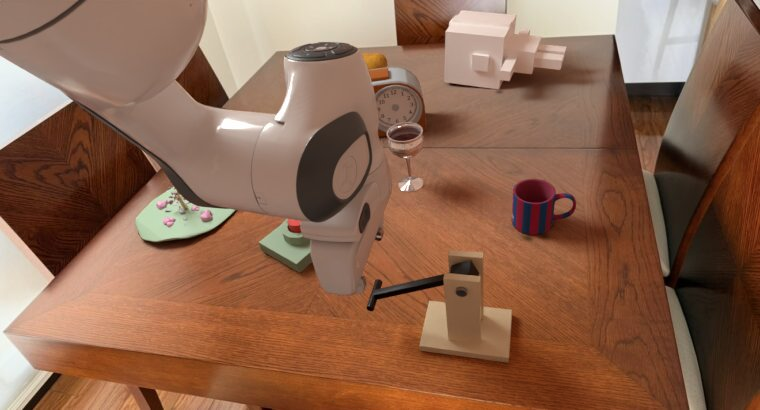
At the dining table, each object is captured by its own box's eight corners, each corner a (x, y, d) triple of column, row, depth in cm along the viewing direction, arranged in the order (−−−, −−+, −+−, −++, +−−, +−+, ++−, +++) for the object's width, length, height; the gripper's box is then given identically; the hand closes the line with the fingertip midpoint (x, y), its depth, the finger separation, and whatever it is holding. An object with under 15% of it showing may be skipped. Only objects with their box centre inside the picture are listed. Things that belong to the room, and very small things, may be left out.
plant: (172, 170, 115) (156, 137, 109) (258, 165, 112) (245, 131, 106) (118, 248, 96) (95, 212, 90) (219, 245, 93) (202, 208, 87)
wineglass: (407, 199, 96) (400, 146, 88) (387, 183, 100) (379, 132, 93) (435, 184, 98) (430, 131, 90) (414, 169, 103) (408, 118, 95)
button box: (299, 273, 84) (293, 256, 82) (261, 251, 90) (255, 234, 87) (346, 231, 91) (342, 214, 88) (308, 213, 96) (304, 196, 94)
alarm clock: (362, 140, 114) (351, 85, 105) (361, 121, 120) (352, 68, 112) (427, 131, 113) (422, 75, 104) (423, 113, 120) (418, 59, 111)
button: (299, 236, 86) (297, 228, 85) (285, 228, 88) (283, 221, 87) (314, 223, 88) (311, 216, 87) (300, 217, 90) (297, 209, 89)
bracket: (419, 350, 70) (410, 284, 61) (429, 305, 75) (422, 239, 67) (508, 363, 66) (512, 295, 58) (512, 314, 72) (515, 246, 63)
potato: (340, 75, 142) (335, 51, 138) (390, 71, 139) (387, 47, 135) (335, 87, 137) (330, 62, 132) (387, 83, 134) (384, 58, 130)
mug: (514, 207, 90) (516, 176, 85) (574, 214, 86) (579, 183, 82) (508, 232, 85) (509, 201, 81) (571, 241, 82) (575, 209, 77)
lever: (371, 315, 70) (362, 304, 68) (380, 287, 73) (371, 276, 72) (476, 294, 61) (467, 281, 60) (480, 264, 65) (472, 252, 64)
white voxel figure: (550, 111, 116) (434, 94, 125) (564, 64, 133) (461, 52, 142) (561, 50, 106) (435, 37, 115) (575, 8, 123) (464, -1, 132)
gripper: (350, 130, 66) (366, 209, 75) (293, 238, 51) (321, 321, 60) (396, 130, 64) (407, 211, 73) (351, 243, 50) (372, 327, 58)
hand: (368, 262), depth 67 cm, fingers open, 8 cm apart
